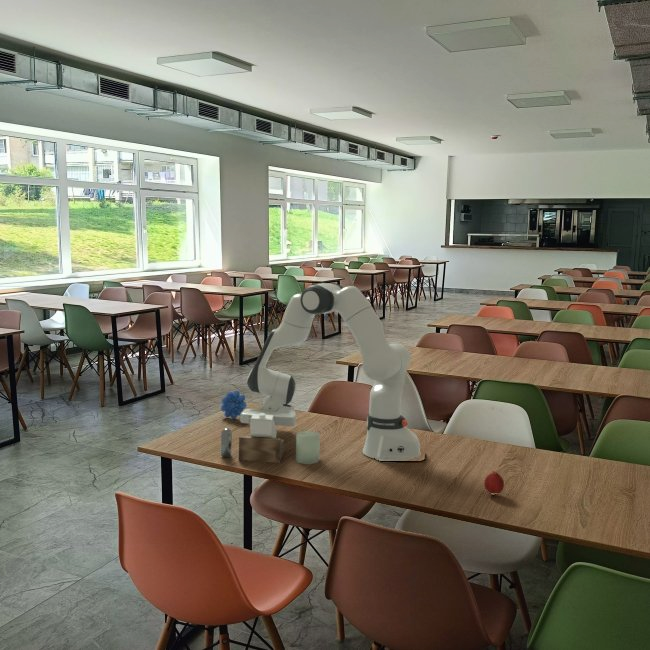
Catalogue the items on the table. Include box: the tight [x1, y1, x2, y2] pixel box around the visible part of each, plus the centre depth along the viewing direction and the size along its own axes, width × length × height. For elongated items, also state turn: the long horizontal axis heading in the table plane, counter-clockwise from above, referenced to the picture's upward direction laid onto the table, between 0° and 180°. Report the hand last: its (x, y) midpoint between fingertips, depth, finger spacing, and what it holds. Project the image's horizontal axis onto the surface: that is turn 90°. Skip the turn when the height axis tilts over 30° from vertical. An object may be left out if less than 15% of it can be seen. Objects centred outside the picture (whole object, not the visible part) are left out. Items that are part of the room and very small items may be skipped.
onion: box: [483, 470, 505, 494], centre depth 196 cm, size 6×6×8 cm
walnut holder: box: [238, 435, 285, 463], centre depth 221 cm, size 14×9×8 cm, turn 86°
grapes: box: [220, 390, 248, 420], centre depth 264 cm, size 12×7×12 cm, turn 69°
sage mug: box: [295, 430, 321, 465], centre depth 221 cm, size 8×11×9 cm
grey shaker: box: [220, 427, 233, 459], centre depth 221 cm, size 4×4×10 cm
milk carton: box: [249, 413, 278, 438], centre depth 222 cm, size 7×7×19 cm
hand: (265, 424), depth 227 cm, fingers closed, pressing on milk carton
